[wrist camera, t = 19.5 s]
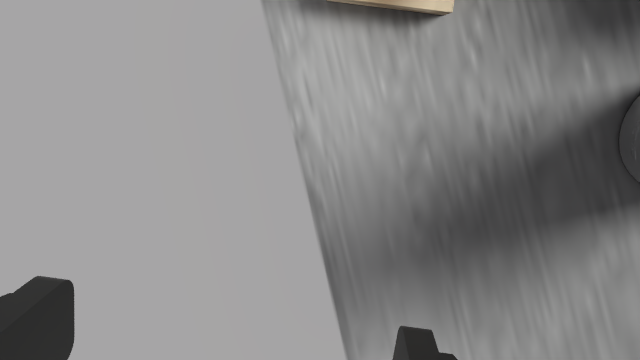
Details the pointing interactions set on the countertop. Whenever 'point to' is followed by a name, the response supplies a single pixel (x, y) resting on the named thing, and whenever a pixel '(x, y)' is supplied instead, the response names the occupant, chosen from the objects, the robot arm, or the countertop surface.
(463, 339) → the countertop surface
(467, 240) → the countertop surface
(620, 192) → the countertop surface
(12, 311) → the robot arm
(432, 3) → the tan l-shaped piece
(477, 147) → the countertop surface
